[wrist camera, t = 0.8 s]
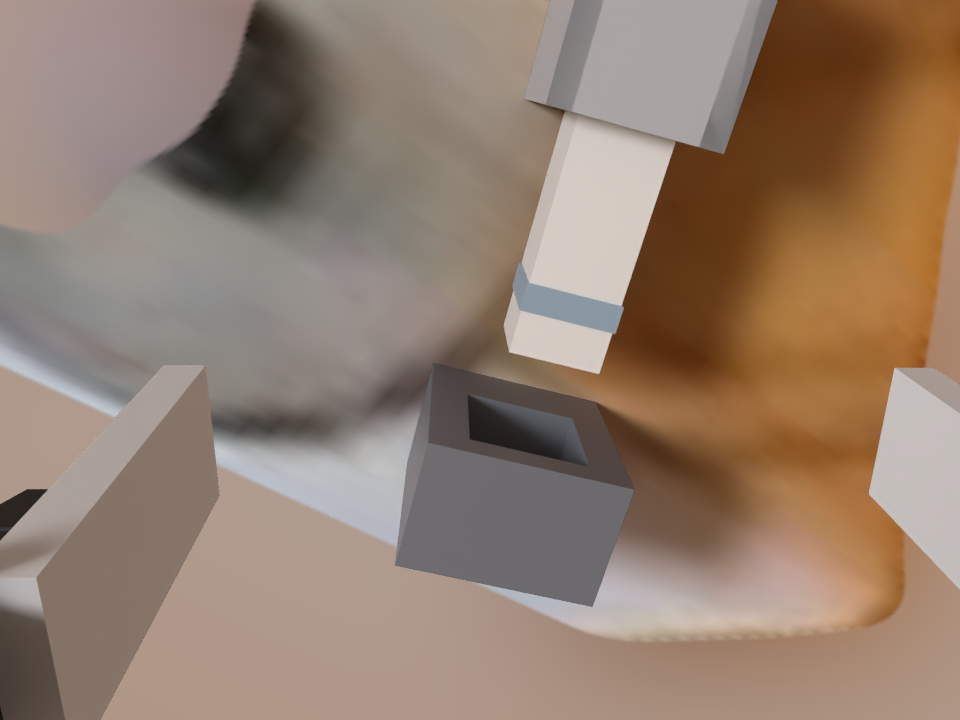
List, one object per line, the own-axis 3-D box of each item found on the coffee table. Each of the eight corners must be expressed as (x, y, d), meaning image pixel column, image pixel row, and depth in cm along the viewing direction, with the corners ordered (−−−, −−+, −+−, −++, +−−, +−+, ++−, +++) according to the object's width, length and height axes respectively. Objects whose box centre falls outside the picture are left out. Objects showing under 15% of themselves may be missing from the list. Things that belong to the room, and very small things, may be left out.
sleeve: (579, -108, 36) (621, -170, 27) (726, -62, 37) (815, -107, 28) (524, 98, 39) (545, 104, 30) (662, 137, 40) (723, 154, 31)
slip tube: (627, -118, 33) (651, -146, 29) (725, -88, 33) (762, -111, 29) (501, 324, 38) (507, 352, 34) (586, 345, 39) (601, 375, 35)
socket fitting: (433, 363, 43) (427, 442, 34) (595, 402, 44) (634, 489, 35) (407, 463, 45) (395, 565, 35) (563, 498, 46) (592, 606, 36)
